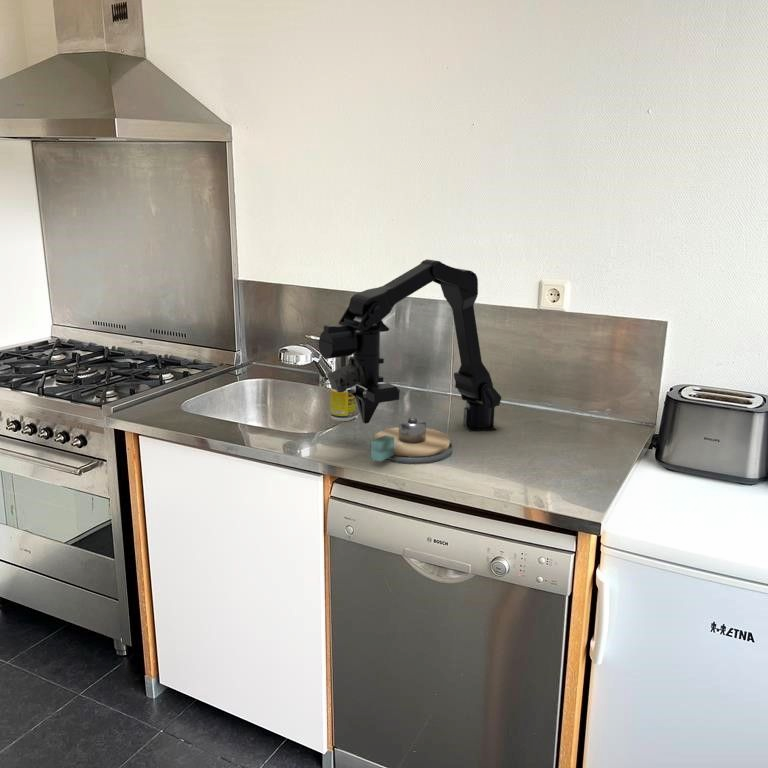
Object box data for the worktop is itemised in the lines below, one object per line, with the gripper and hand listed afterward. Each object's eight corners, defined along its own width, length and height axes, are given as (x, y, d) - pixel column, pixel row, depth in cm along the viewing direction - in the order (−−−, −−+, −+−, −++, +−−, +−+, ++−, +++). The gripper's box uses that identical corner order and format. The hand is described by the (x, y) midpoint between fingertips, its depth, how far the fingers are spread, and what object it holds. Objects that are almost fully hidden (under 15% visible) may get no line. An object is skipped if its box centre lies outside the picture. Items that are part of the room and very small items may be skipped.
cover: (408, 432, 174) (409, 412, 173) (430, 438, 171) (431, 417, 169) (393, 439, 169) (393, 419, 168) (415, 445, 166) (416, 424, 165)
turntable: (401, 426, 182) (401, 410, 181) (463, 440, 172) (464, 424, 171) (343, 451, 165) (343, 434, 164) (409, 469, 155) (409, 451, 154)
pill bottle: (351, 422, 189) (352, 379, 186) (327, 420, 190) (327, 377, 187) (357, 415, 195) (358, 373, 192) (334, 413, 196) (334, 371, 193)
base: (439, 434, 181) (440, 429, 181) (461, 461, 164) (461, 456, 164) (365, 438, 178) (365, 433, 177) (379, 466, 161) (379, 460, 160)
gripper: (313, 348, 166) (313, 416, 170) (354, 366, 151) (353, 441, 155) (358, 343, 172) (357, 409, 176) (402, 360, 156) (400, 432, 160)
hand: (365, 422), depth 166 cm, fingers closed
